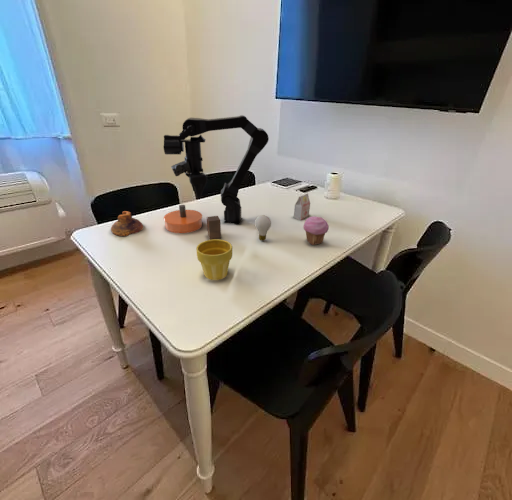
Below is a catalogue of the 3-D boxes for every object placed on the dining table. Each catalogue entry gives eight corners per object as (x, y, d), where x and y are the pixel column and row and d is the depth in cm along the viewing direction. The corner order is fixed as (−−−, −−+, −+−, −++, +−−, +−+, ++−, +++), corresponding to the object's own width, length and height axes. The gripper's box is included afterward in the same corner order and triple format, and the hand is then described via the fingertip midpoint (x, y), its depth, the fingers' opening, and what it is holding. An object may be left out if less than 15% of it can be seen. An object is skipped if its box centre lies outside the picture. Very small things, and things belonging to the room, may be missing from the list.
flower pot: (199, 266, 96) (197, 238, 91) (232, 265, 97) (232, 238, 92) (197, 285, 87) (194, 255, 82) (233, 284, 88) (232, 255, 83)
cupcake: (311, 249, 107) (314, 224, 102) (297, 239, 114) (299, 215, 109) (330, 244, 111) (334, 219, 106) (316, 235, 118) (319, 211, 113)
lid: (207, 213, 126) (206, 201, 123) (194, 228, 113) (193, 214, 110) (173, 210, 128) (172, 198, 125) (157, 224, 115) (155, 210, 112)
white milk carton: (293, 217, 133) (295, 195, 128) (301, 213, 137) (304, 192, 133) (300, 220, 131) (302, 197, 126) (308, 215, 135) (311, 194, 131)
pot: (206, 221, 127) (206, 212, 125) (194, 236, 115) (193, 226, 113) (175, 218, 129) (174, 209, 127) (159, 232, 117) (158, 222, 115)
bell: (130, 238, 112) (126, 220, 108) (104, 233, 115) (100, 215, 112) (150, 226, 121) (147, 209, 118) (126, 222, 125) (122, 205, 121)
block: (218, 234, 116) (217, 215, 112) (221, 239, 113) (220, 219, 109) (207, 236, 115) (206, 216, 111) (210, 241, 111) (208, 221, 108)
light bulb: (272, 238, 114) (273, 214, 110) (267, 245, 110) (268, 219, 105) (257, 236, 116) (258, 211, 111) (252, 242, 111) (252, 217, 106)
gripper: (169, 150, 119) (173, 189, 126) (174, 161, 103) (179, 204, 111) (197, 149, 122) (200, 187, 129) (206, 159, 107) (209, 201, 114)
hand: (196, 194), depth 121 cm, fingers open, 9 cm apart
